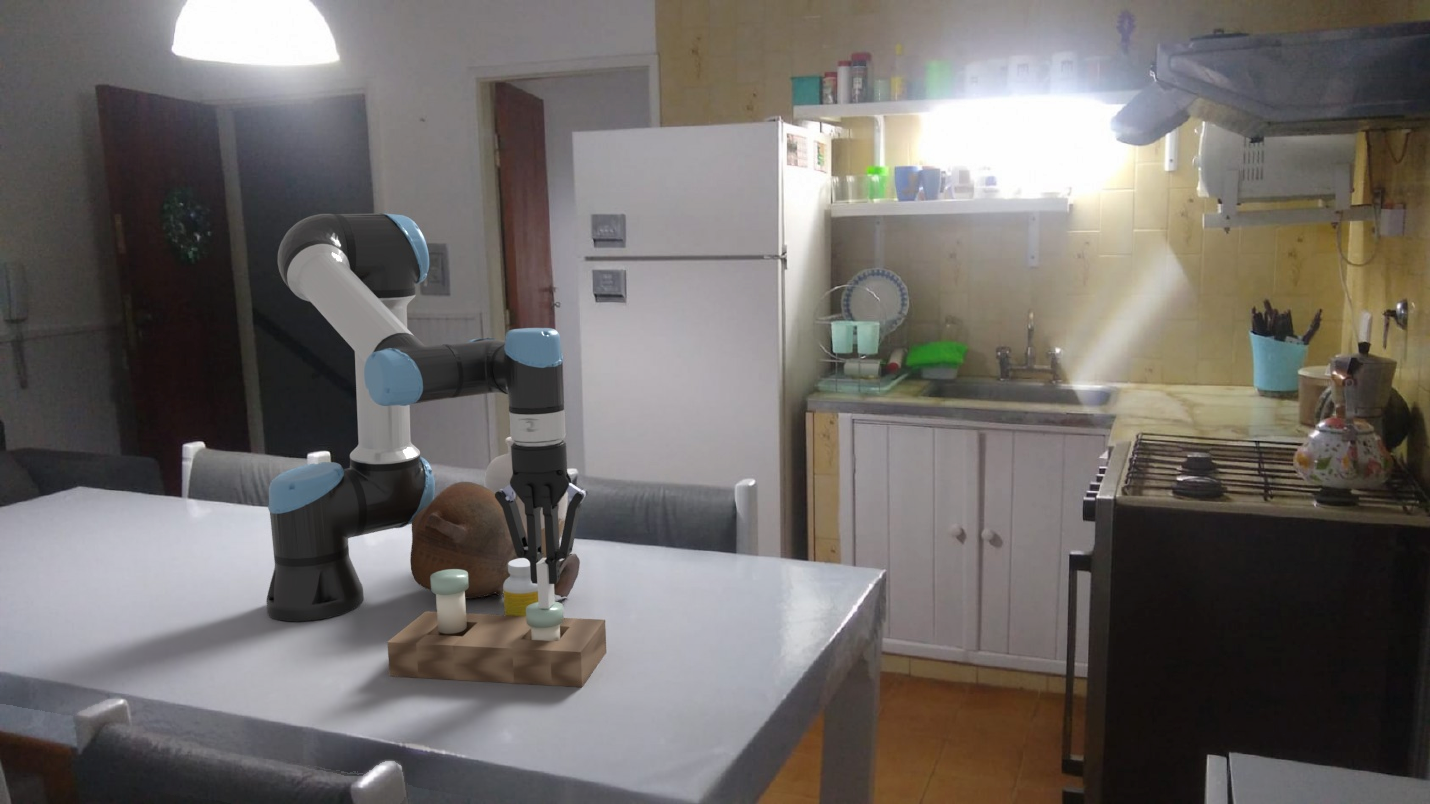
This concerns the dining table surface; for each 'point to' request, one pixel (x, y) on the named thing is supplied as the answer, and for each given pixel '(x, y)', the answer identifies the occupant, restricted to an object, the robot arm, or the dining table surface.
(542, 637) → the knob
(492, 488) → the vase
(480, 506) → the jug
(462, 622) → the knob
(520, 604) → the pill bottle
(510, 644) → the mount
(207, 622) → the dining table surface
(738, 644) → the dining table surface
